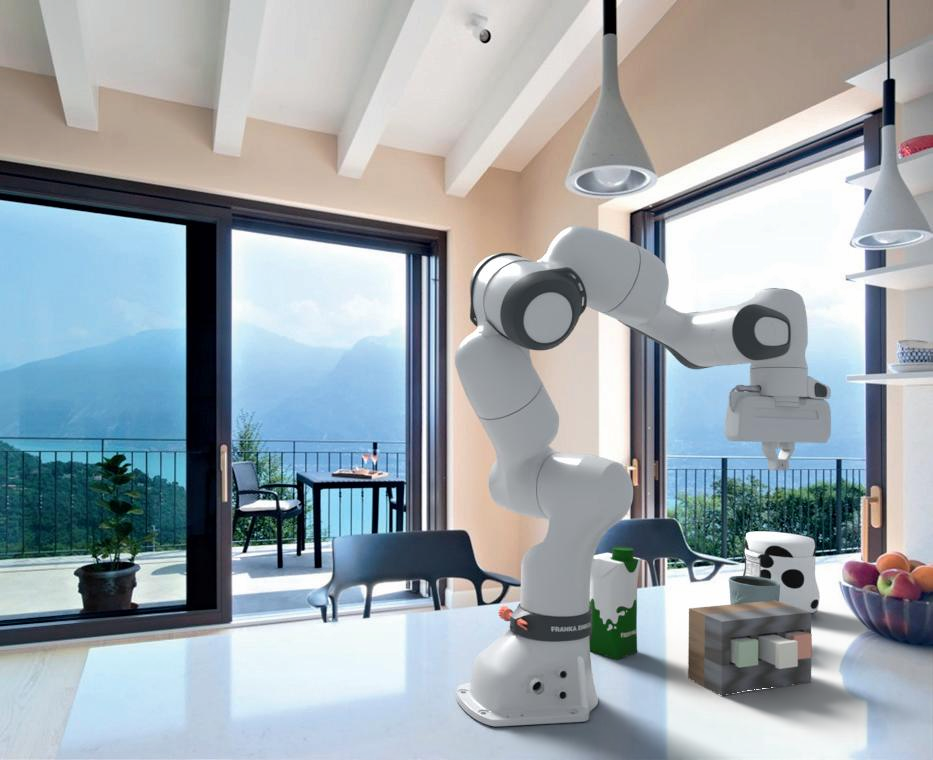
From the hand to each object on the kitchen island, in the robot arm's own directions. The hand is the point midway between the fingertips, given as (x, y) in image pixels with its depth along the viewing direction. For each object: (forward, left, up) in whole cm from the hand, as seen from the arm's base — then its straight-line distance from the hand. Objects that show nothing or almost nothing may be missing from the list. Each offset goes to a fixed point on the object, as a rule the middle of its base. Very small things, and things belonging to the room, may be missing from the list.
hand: (778, 470), depth 112 cm
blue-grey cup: (+21, +26, -37) cm, 50 cm away
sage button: (-4, +4, -32) cm, 33 cm away
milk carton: (-13, +28, -37) cm, 48 cm away
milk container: (+43, +40, -37) cm, 70 cm away
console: (+2, +8, -37) cm, 38 cm away
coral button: (+8, +5, -32) cm, 33 cm away
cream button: (+2, +2, -32) cm, 32 cm away
